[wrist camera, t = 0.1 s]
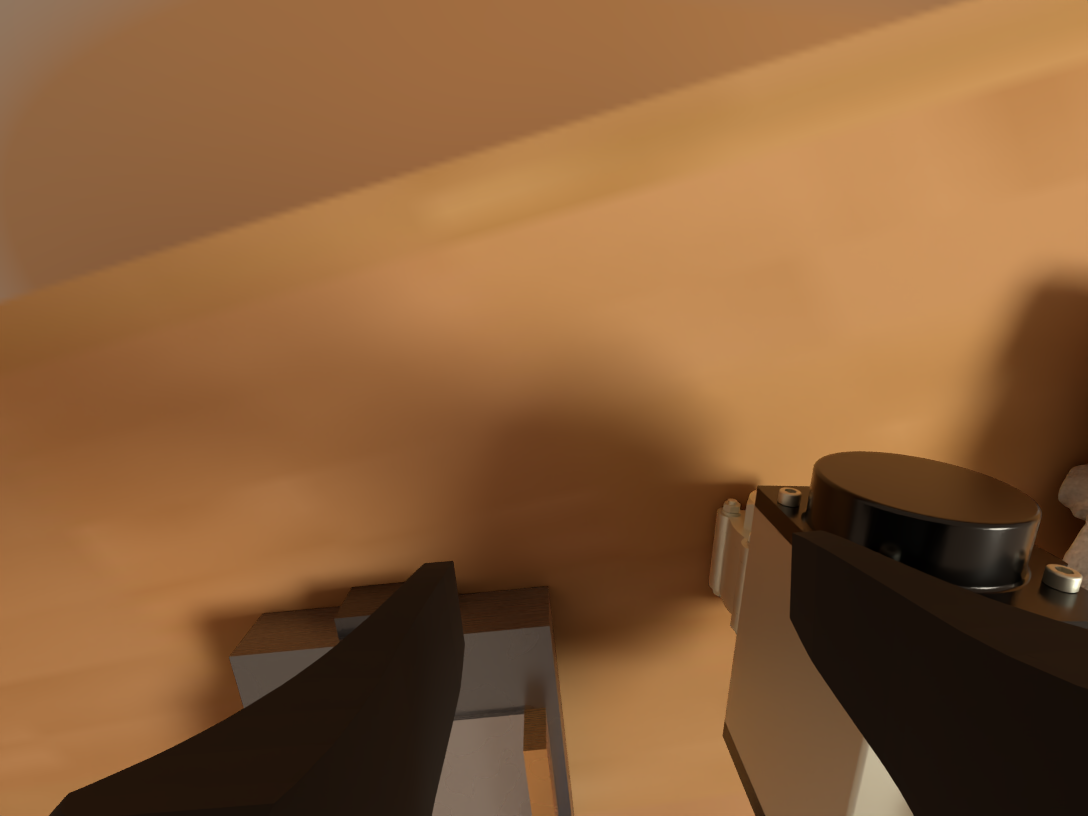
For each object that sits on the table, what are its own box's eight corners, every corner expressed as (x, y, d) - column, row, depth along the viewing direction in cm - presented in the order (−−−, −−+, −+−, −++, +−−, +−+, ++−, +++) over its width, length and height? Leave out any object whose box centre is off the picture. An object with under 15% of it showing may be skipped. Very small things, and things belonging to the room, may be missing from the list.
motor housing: (578, 850, 26) (586, 964, 21) (331, 873, 26) (292, 990, 22) (546, 568, 22) (548, 640, 18) (257, 596, 22) (193, 674, 18)
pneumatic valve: (680, 669, 23) (832, 1079, 12) (709, 398, 20) (956, 583, 9) (809, 670, 23) (1087, 1073, 12) (858, 401, 20) (1296, 587, 9)
